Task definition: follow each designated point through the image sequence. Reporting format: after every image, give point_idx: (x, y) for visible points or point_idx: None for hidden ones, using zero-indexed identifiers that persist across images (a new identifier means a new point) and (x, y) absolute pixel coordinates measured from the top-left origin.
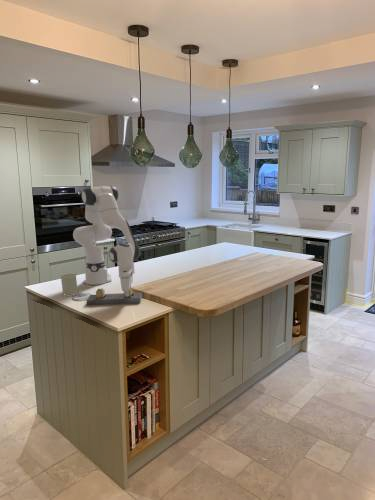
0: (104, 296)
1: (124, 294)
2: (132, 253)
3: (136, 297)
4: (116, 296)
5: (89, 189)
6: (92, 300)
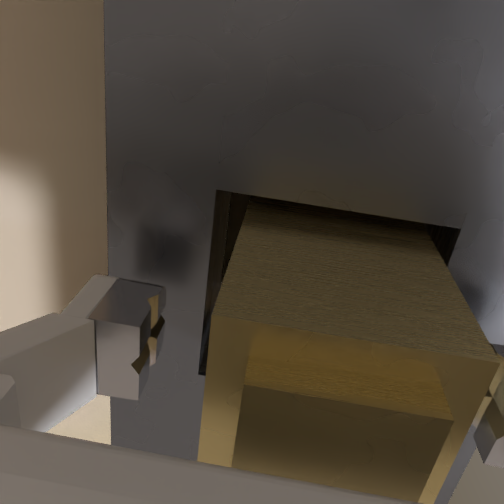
0: None
1: (235, 249)
2: None
3: (147, 428)
4: None
5: None
6: None
